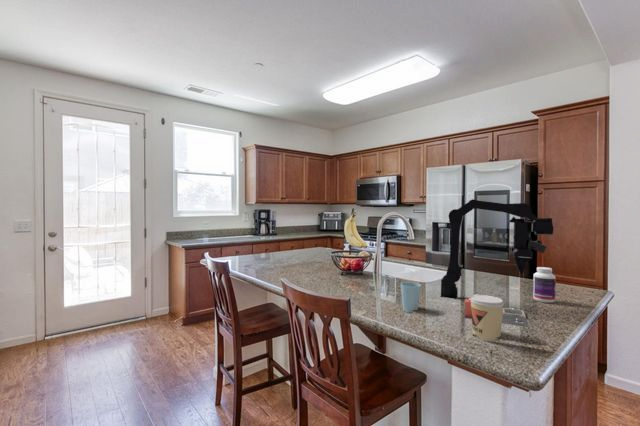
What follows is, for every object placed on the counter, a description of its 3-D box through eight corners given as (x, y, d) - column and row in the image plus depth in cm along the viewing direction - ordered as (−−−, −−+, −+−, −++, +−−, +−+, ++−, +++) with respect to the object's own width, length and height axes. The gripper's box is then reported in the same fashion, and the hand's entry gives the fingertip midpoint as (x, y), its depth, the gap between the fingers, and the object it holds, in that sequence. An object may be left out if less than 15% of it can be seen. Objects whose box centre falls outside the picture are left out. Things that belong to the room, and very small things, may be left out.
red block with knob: (465, 315, 119) (465, 299, 119) (465, 312, 122) (465, 296, 122) (477, 317, 117) (477, 301, 117) (477, 313, 121) (477, 298, 120)
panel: (463, 320, 116) (463, 314, 116) (464, 305, 134) (464, 300, 134) (529, 330, 108) (529, 324, 108) (521, 313, 126) (521, 307, 126)
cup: (413, 307, 132) (413, 281, 132) (424, 313, 125) (425, 286, 124) (396, 308, 130) (397, 282, 130) (407, 314, 122) (407, 287, 122)
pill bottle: (559, 304, 138) (559, 270, 137) (537, 302, 139) (538, 269, 139) (549, 298, 146) (550, 266, 145) (529, 297, 147) (530, 266, 147)
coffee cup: (464, 331, 107) (464, 294, 106) (491, 330, 107) (491, 294, 107) (480, 343, 97) (481, 303, 97) (510, 342, 98) (510, 302, 98)
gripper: (549, 236, 121) (547, 278, 122) (542, 233, 138) (541, 269, 138) (514, 235, 127) (513, 275, 127) (511, 231, 143) (510, 267, 143)
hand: (520, 271), depth 134 cm, fingers open, 9 cm apart
